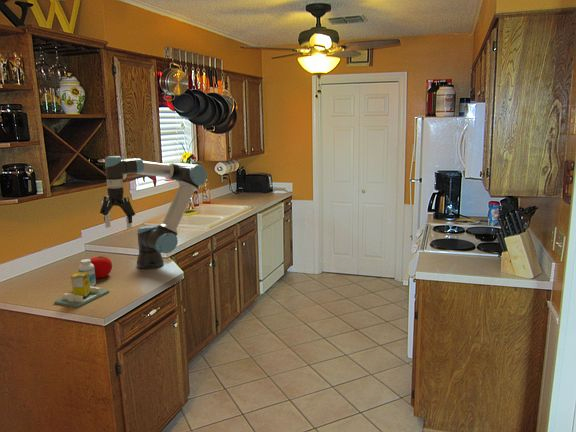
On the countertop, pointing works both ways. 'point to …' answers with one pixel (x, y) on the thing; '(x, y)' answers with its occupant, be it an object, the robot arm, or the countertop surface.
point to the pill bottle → (88, 270)
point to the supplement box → (81, 284)
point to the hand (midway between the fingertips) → (118, 228)
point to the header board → (81, 298)
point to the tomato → (101, 266)
